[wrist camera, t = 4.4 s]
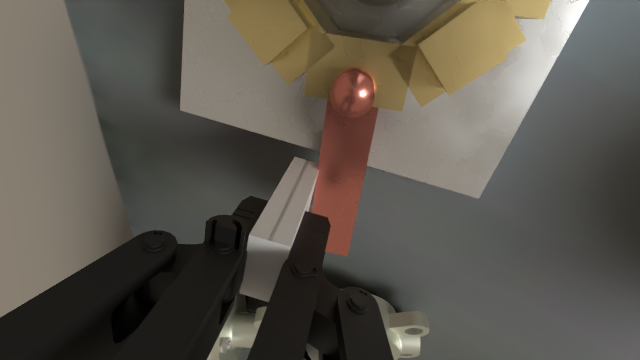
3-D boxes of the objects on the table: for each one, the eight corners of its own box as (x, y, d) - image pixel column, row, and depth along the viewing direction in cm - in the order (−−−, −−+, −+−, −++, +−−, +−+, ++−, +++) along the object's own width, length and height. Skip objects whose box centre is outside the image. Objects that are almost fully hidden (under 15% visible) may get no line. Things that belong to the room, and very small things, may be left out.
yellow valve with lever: (258, -263, 12) (176, -448, 7) (593, -241, 11) (757, -441, 6) (245, 200, 21) (205, 254, 16) (429, 237, 20) (443, 306, 15)
